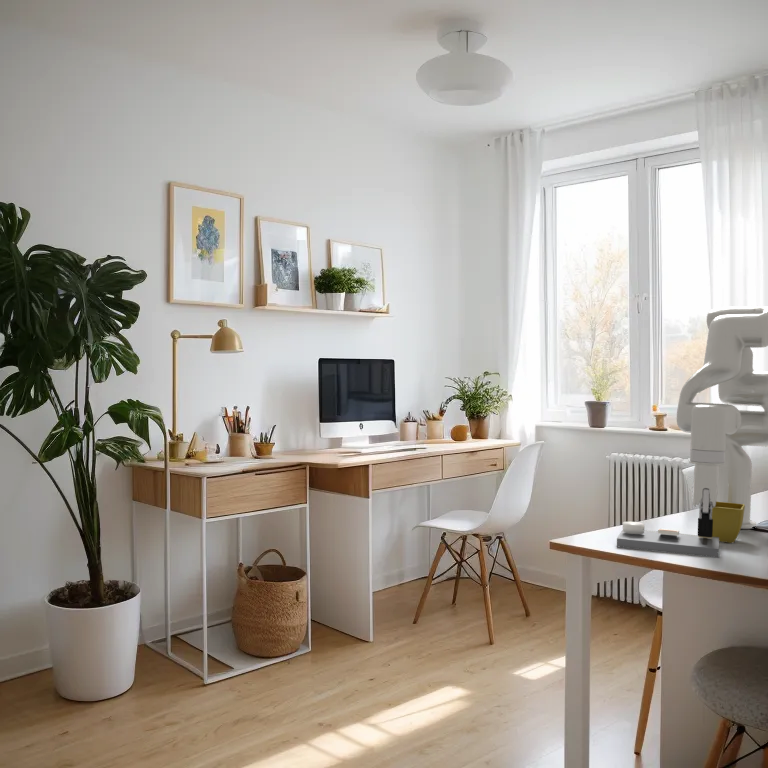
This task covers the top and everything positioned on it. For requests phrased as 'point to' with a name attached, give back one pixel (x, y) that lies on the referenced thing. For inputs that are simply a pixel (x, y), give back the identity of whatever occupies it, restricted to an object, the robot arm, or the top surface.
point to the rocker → (668, 531)
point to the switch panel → (670, 543)
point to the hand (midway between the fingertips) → (705, 535)
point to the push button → (633, 527)
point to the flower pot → (727, 520)
